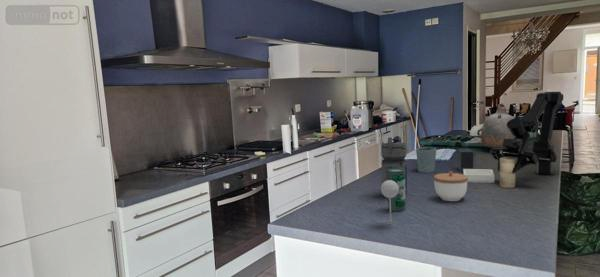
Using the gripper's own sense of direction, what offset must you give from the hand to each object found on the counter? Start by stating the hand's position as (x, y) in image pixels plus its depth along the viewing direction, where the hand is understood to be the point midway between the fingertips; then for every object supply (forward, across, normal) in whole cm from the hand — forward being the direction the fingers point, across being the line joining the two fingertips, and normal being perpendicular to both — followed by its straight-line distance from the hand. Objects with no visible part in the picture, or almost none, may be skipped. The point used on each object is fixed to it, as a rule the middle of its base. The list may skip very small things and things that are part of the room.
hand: (505, 171), depth 178 cm
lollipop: (+54, -1, -45) cm, 71 cm away
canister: (+4, 0, +6) cm, 7 cm away
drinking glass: (+2, -44, +7) cm, 45 cm away
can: (+45, -11, -35) cm, 58 cm away
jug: (-51, -47, +60) cm, 92 cm away
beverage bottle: (+34, -25, -25) cm, 49 cm away
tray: (+2, -15, +8) cm, 17 cm away
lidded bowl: (+27, -5, -17) cm, 33 cm away
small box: (-8, -32, +18) cm, 37 cm away
